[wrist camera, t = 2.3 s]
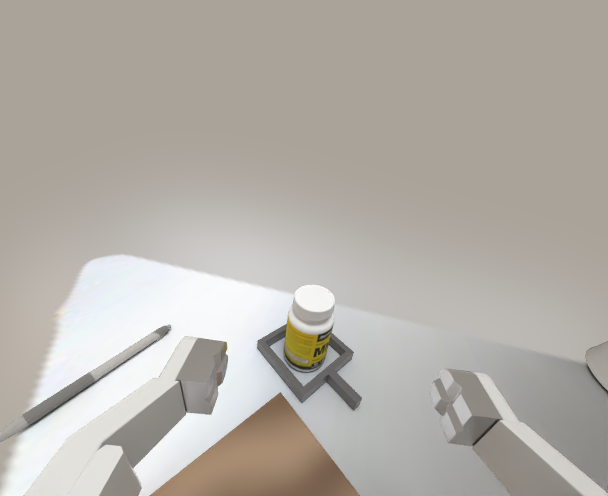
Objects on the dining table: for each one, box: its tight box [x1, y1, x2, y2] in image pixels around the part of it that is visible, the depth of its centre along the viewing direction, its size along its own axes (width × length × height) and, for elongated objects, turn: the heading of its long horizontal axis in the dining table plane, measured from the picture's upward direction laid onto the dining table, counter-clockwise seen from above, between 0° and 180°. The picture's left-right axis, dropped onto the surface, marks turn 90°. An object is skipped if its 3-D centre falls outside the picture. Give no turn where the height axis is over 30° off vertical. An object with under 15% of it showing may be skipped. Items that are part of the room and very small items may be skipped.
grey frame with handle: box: [257, 324, 362, 410], centre depth 26 cm, size 11×8×1 cm
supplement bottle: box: [284, 285, 335, 372], centre depth 26 cm, size 5×5×8 cm
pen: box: [0, 325, 171, 442], centre depth 23 cm, size 1×14×1 cm, turn 148°
